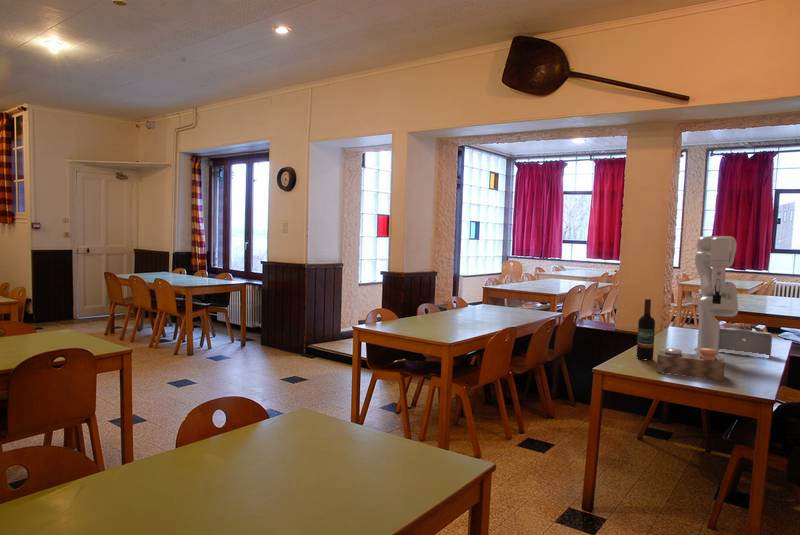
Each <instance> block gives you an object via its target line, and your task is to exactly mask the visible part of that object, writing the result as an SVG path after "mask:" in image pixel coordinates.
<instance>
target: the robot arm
mask: <svg viewBox="0 0 800 535" xmlns="http://www.w3.org/2000/svg"><path fill="white" fill-rule="evenodd" d="M696 248H697V251H698V252H697V253H695V256H694V262H695V263H694V264H695V269H696V271H697V273H698V275H699V278H700V294H701V297H699V299H698V301H697V309H698V330H697V343H696V344H697V346H696V347H694V348H693V349H694V351H696V353H694V354H695V355H702V353H700V348H710V349H716V350H718V351H719V336H720V327H721V324H720V322H719V321H718V319H717V318H716V317H727V318H732V317H736V316H737V314H738V313H739V301H738V300H739V299H738V290H737V286H736V284H735V283H734V282H732V281H726V271H727V270H726V269H729V268H730V267H731V266H732V265H733V264H734V260H735V256H736V251H737V240H736V238H735V237H733V236H730V235H728V236H727V235H709V236H699V237H698V239H697V241H696ZM715 357H721V358H723V357H722V356H720V355H719V354H718V355H715Z"/></svg>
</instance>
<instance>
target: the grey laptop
mask: <svg viewBox="0 0 800 535" xmlns="http://www.w3.org/2000/svg"><path fill="white" fill-rule="evenodd" d="M743 339H745V340H743ZM772 345H773V334H772V333H771V332H768V331H767V332H766V331H757V330H748V329H739V328H731V327H728V328H727V327H721V326H720V336H719V349H727V350H735V351H744V352H752V353H759V354H766V355H769V359H771V355H772Z"/></svg>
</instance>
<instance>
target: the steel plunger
mask: <svg viewBox="0 0 800 535" xmlns="http://www.w3.org/2000/svg"><path fill="white" fill-rule="evenodd" d="M664 351H665V353H667V355H671V356H680V355H681V354H682V353H683V352H682V350H681V349H678V348H674V347H673V348H670V347H669V348H667V347H666V348H665V349H664Z"/></svg>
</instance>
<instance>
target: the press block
mask: <svg viewBox="0 0 800 535" xmlns="http://www.w3.org/2000/svg"><path fill="white" fill-rule="evenodd" d="M721 357H722V356H720V357H715V361H713V360H705V359H702V355H695V353H693V354H692V353H685V352H684V353H683V352H682V354H681V355H680V356H671V355H667V353H665V350H660V349H659V351H658V353H657V360H656V361H657V363H656V364H657V367H656V373H659V372H664V373H663V374H666V373H671V374H670V375H674V374H678V375H677V376H681V375H685V376H684V377H689V376H691V377H690V378H696V377H698V379H703V378H705V380H713V381H718V380H719V382H720V381H721V382H724V378H725V365H726V362H725V358H724V357H722V358H721Z"/></svg>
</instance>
